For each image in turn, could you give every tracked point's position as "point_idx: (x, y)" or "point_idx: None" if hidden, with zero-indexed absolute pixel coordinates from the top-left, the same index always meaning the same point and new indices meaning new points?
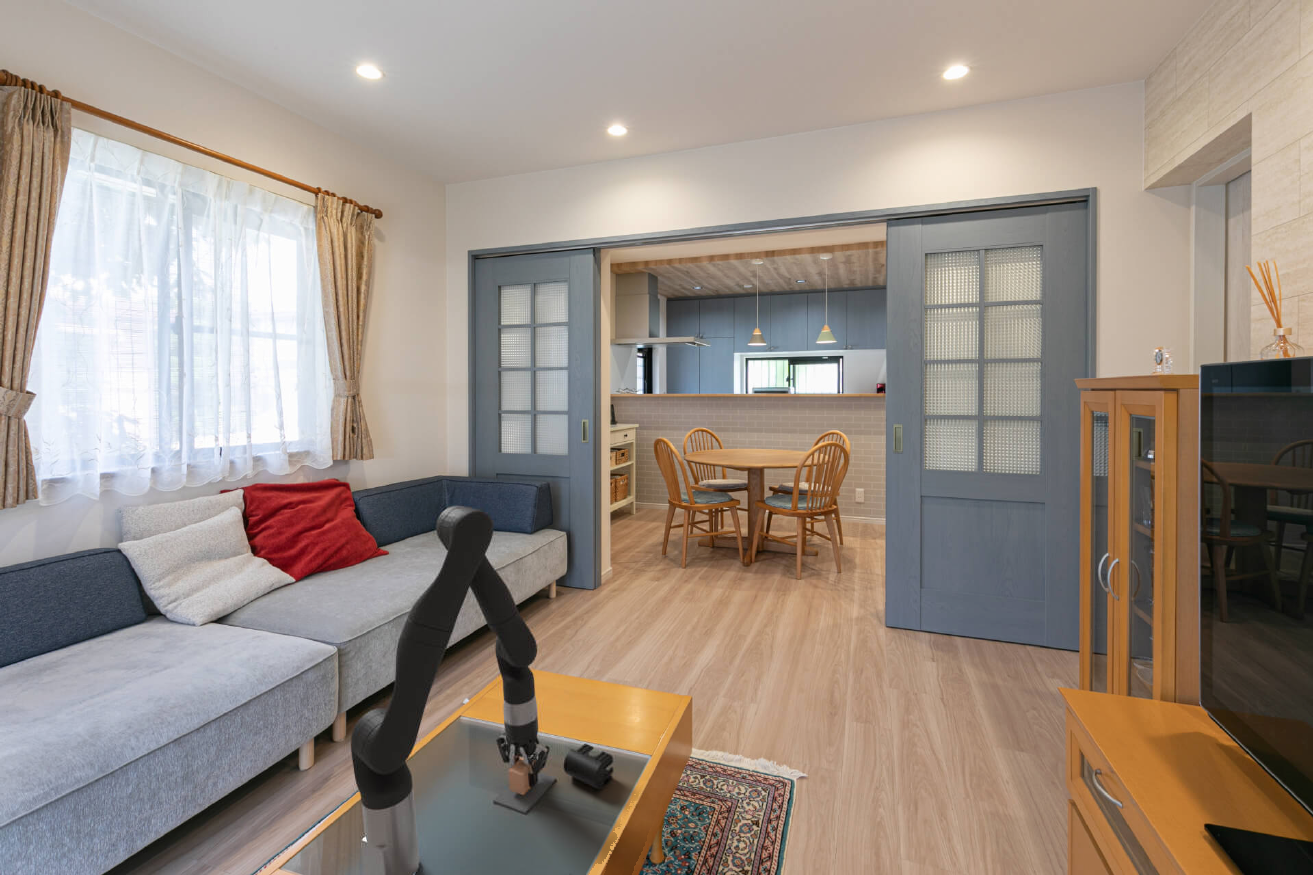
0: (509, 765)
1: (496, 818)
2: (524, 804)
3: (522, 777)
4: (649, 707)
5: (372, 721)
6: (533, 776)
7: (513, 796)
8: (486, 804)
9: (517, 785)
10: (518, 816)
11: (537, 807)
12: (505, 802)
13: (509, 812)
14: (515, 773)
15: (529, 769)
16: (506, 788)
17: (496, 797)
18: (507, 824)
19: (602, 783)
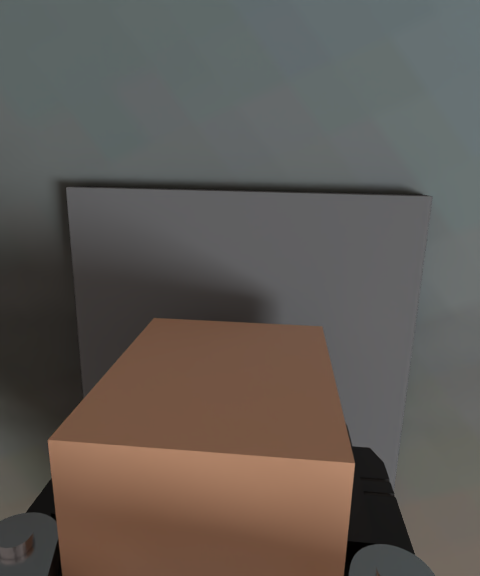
0: (426, 565)
1: (271, 31)
2: (128, 257)
3: (74, 414)
4: None
5: None
6: (48, 494)
7: (276, 303)
8: (473, 146)
9: (207, 351)
10: (107, 138)
11: (38, 282)
12: (300, 217)
13: (207, 146)
14: (196, 440)
15: (21, 565)
16: (395, 363)
17: (420, 238)
18: (130, 12)
19: None
